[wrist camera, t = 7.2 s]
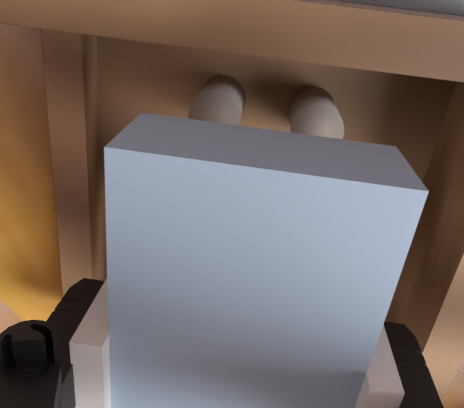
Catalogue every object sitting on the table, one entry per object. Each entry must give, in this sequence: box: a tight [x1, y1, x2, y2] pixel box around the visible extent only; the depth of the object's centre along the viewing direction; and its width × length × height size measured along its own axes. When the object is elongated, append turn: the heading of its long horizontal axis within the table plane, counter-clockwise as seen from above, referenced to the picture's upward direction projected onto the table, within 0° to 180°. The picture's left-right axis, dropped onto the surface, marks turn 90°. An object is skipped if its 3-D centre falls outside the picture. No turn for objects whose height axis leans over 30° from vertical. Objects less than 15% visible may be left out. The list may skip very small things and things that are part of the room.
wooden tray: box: [0, 0, 464, 403], centre depth 18 cm, size 17×17×6 cm
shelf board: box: [104, 113, 429, 408], centre depth 12 cm, size 12×6×2 cm, turn 173°
